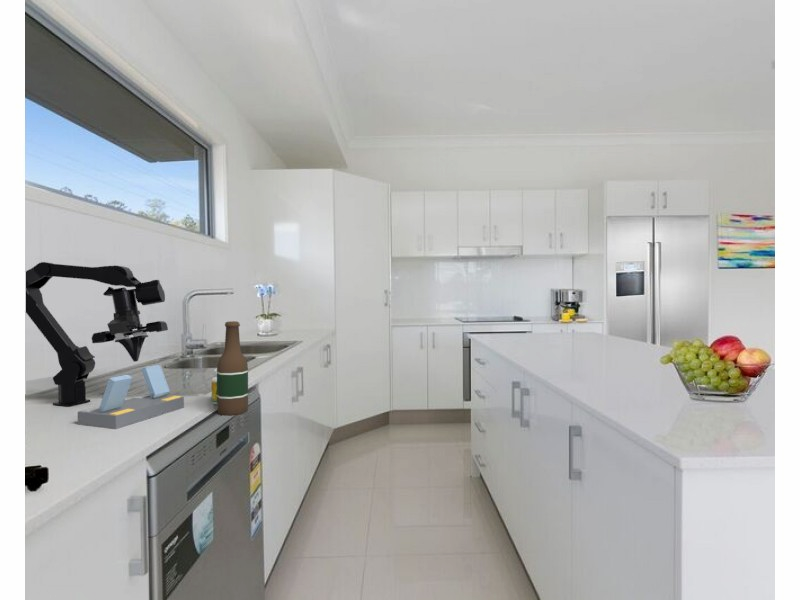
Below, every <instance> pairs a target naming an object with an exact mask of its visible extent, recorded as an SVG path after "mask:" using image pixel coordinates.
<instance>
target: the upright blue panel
mask: <svg viewBox="0 0 800 600" xmlns="http://www.w3.org/2000/svg"><path fill="white" fill-rule="evenodd" d="M133 378H134V377H133V376H131V375H130V374H126V375H119V376H114V377H110V378H109V379H108V382H107V384H106V388H105V390H104V393H103V397H102V399H101V401H100V405H99V406H100V407H99V408H100V412H104V411H108V410H112V409H115V408H119V407H122V406H123V403H124V401H125V400H126V398H127V394H128V392H129V389H130V386H131V384H132V381H133Z"/></svg>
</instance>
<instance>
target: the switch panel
mask: <svg viewBox="0 0 800 600" xmlns="http://www.w3.org/2000/svg"><path fill="white" fill-rule="evenodd" d="M99 407H100V405H98V406H95V407H91V408H87V409H83V410H79V411H77V425H78V426H79V425H80V426H89V427H96V428H105V429H113V430H117V429H120V428H124V427H126V426H129V425H133V424H136V423H139V422H142V421H146V420H148V419H152V418H155V417H159V416H161V415H162V416H163V415H165V414H168V413H170V412H171V413H172V412H174V411H177V410H181V409H183V408H185V396H180V395H170V394H168V395H164V396H161V397H157V398H152V397H151V396H150V393H146V394H143V395H139V396H135V397H132V398H128V399H125V401H124V403H123V406H122V407H119V408H115V409H112V410H108V411H104V412H100V408H99Z"/></svg>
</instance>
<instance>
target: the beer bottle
mask: <svg viewBox="0 0 800 600" xmlns="http://www.w3.org/2000/svg"><path fill="white" fill-rule="evenodd" d="M240 326H241V324H240V322H239V321H235V320H233V321H226V322H225V323H224V327H225V337H224V338H225V339H224V349H223V353H222V354H221V356H220V357H219V360H218V362H217V365H216V366H217V367H216V369H217V405H216V408H217V414H219V415H220V416H225V417H226V416H228V417H230V416H231V417H234V416H240V415H243V414H245V413H247V412H248V410H249V365H248V362H247V361H248V360H247V359H246V357H245V356H244V354H243V352H242V349H241V343H240V342H241V341H240Z"/></svg>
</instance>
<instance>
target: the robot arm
mask: <svg viewBox="0 0 800 600" xmlns="http://www.w3.org/2000/svg"><path fill="white" fill-rule="evenodd" d="M25 271H26V312H25V313H26V315H27V316H28V317H29V318H30V320H31V321H32V322H33V323H34V324H35V327H37V329H38V331H39V332H40V333H41V334H42V335H43V337H44V338H45V339H46V340H47V342H48V343H49V344H50V346H51V347H52V348H53V350H54V351H55V352H56V354H57V359H58V365H59V366H60V368H61V369H60V370H59V372H57V373H56V374H55V375H54V376H53V377H52V380H53V382H54V385H57V387H58V388H57V389H58V390H57V391H58V394H57V397H58V398H57V399H58V400H57V401H56V402H52V405H54V406H63V407H72V406H75V405H79V404H80V405H81V404H85V403H89V402H91V399H88V398H87V396H86V395H87V394H86V393H87V392H86V388H87V387H86V381H85V380H86V379H88V377H89V376H90V373H92V372H93V371H94V370H95V365H96V362H95V359H94V358H95V355H93V354H92V353H91V352H90V350H89V348H88V347H87V346H81V347H80V346H77V345H76V344H75V343H74V342H73V341H72V339H71V338H70V337H69V335H68V334H67V332H66V331H65V330H64V328H63V327H62V326H61V325H60V323H59V322H58V321H57V320H56V318H55V317H54V315H53V314H52V313H51V311H50V310H49V309H48V308H47V306H46V305H45V303H44V299H43V293H42V291H41V290H40V289H42V288H43V287H44V286H45V285H47V283H48V282H49V280H51V279H52V278H53V277H55V278H56V277H57V278H67V279H68V278H70V279H79V280H91V281H95V282H99V283H102V284H105V285H111V286H108V287H107V289H106V290H105V291H104V292H103V293H102V294H103V296H106V297H112V302H113V308H114V312H113V319H112V320H110V321H109V322H108V323H107V324H106V325H107V328H108V330H105V331H99V332H94V333H93V334H92V335H91V343H92V344H102V343H107V342H114V343H119V344H120V345H122V347H124V348H125V350H126V351H127V353H128V355H129V356H130V358H131V360H132V361H133V362H138V361H139V358H140V354H141V351H142V348H143V345H144V342H145V339H146V338H149V334H148V333H153V332H156V333H160V332H165V331H168V330H169V329H168V328H169V327H168V324H167V322H166V321H164V320H163V321H161V320H158V321H152V322H147V323H146V324H145V326H143V324H142V323H141V320H140V315H141V311H140V310H139V309H138V303H139V304H141V305H142V306H147V305H148V306H149V305H153V304H160V303H165V301H166V294H165V290H164V288H163V286H162V284H161V281H160V280H159V279H153V280H152V279H151V280H150V281H144V282H141V281H140V280H139V279H137V278H136V277H135V275H134V273H133V271H132V270H131V268H129V267H126V266H122V265H104V266H93V267H92V266H82V265H81V266H80V265H69V264H59V263H53V262H48V261H46V262H45V261H41V262H39V263H37V264H36V265H34V266H32V267H31V268H30V269H28V270H25ZM113 286H117V287H118V288H114V287H113ZM127 288H131V289H127ZM130 336H131V337H130Z"/></svg>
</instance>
